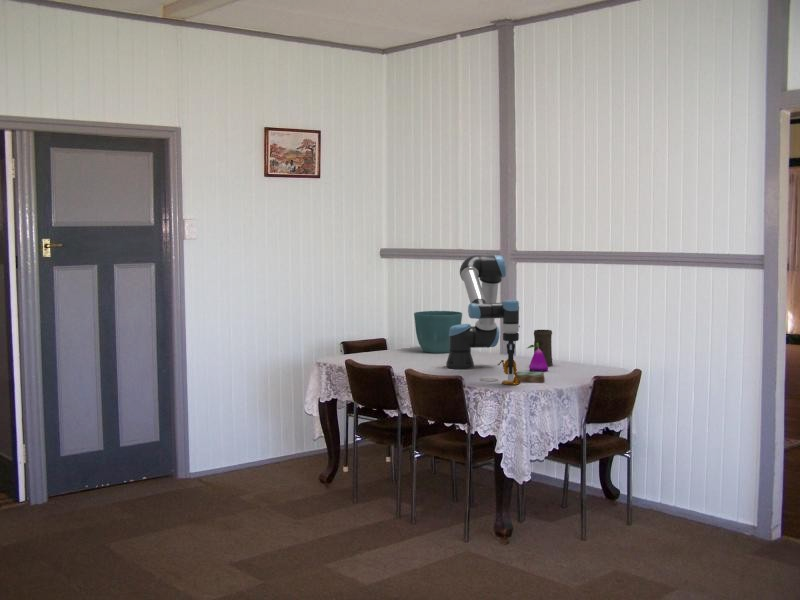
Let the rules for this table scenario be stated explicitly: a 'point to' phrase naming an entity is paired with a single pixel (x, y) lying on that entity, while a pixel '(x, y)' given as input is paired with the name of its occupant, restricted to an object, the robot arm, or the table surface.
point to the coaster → (488, 379)
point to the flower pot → (435, 329)
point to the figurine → (507, 373)
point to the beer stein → (544, 344)
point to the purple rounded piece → (538, 361)
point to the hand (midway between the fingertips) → (510, 378)
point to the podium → (530, 377)
